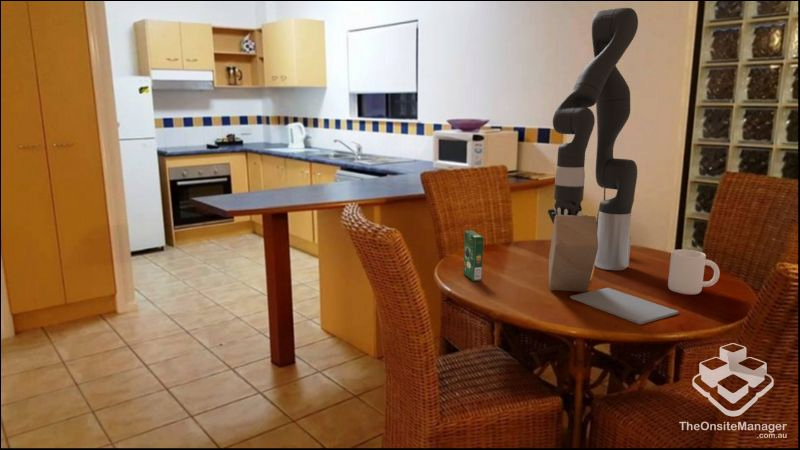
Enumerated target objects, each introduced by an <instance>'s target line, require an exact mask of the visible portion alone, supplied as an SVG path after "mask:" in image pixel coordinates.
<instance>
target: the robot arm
mask: <svg viewBox="0 0 800 450" xmlns="http://www.w3.org/2000/svg"><path fill="white" fill-rule="evenodd" d="M638 28H639V18H638V14H637V12H636V10H635V9H633V8H632V7H619V8H612V9H603V10H599V11H597V12H596V13H595V14H594V16H593V19H592V23H591V40H592V48H593V57H594V58H593V59H592V60H591V61H590V62H589V63H588V64H587V65H586V66H585V67H584V68H583V69H582V70H581V72H580V74H579V76H578V77H577V80H576V82H575V83H574V84H575V85H574V87H573V89H572V91H571V92H570V93H569V94H568V95H567V96H566V98H565V99H564V100H563V101H562V102H561V103H560V105H559V106H557V108H556V110H555V111H554V114H553V117H552V128H553V130H554V131H555V132H556V133H558V134H562V135H573V138H572V141H570V142H567V143H566V142H565V143H562V144H560V145H559V147H558V149H557V160H556V161H557V162H556V163H557V164H556V170H555V175H554V179H555V180H554V192H553V193H554V195H553V196H554V197H553V199H554V200H555V203H554V206H553V208H552V209H550V208H549V209H548V210H547V213H548V215H549V217H550V220H551V222H552V225H554V219H555V216H556V215H574V216H588V215H585V214H584V213H583V212H582V210H583V208H582V205H581V204H582V201H584V194H585V193H584V191H585V177H586V175H585V172H586V171H585V162H586V151H587V148H588V145H589V142H590V138H591V137H592V136H591V135H592V133H593V130H594V128H595V123H596V127H597V128H596V130H597V132H596V134H597V136H596V137H597V138H596V139H597V143H596V159H595V180H596V183H597V185H598V186H599V187H600V188H602V189H604V188H606V189H607V190H608V189H610V190H616V191H617V192H616V194H615V196H614V197H613V198H612V197H611V198H609V199H605V200H604V199H603V200H602V201H600V202H599V204H598V206H599V207H598V211H599V217H598V230H597V237H598V250H597V254H596V259H595V263H594V267H596V268H599V269H602V270H609V271H623V270H626V269H627V268H628V267H629V265H630V264H629V263H630V255H631V254H630V252H631V241H632V236H630V231H631V223H632V221H631V220H632V209H633V205H634V201H635V194H636V193H635V192H636V185H637V179H638V166H637V164H636V162H635V160H632V159H628V158H614V146H615V144H616V143H615V142H616V140H617V137H618V136H619V134H620V133H621V131H622V130H623V128H624V127H625V125H626V123H627V121H628V120H629V117H630V115H631V91H630V90H631V89H630V87H629V85H628V83H627V81H626V80H625V78H624V76H623V75H622V74H621V72H620V71H619V69H618V67H617V64H618V63H619V61H620V59H621V58H622V57H623V55H624V54H625V52H626V51H627V49H628V48H629V46H630V45H631V43H632V41H633V40H634V38H635V37H636V34H637V31H638ZM594 105H595V106H596V107H595V108H596V117H595V115H594V112H593V110H592V109H591V107H594ZM595 119H596V120H595Z"/></svg>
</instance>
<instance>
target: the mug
mask: <svg viewBox="0 0 800 450" xmlns="http://www.w3.org/2000/svg"><path fill="white" fill-rule="evenodd" d="M706 257H707V255H706V253H704V252H701V251H698V250H693V249H673V250H671V253H670V261H669V270H668V271H669V272H668V279H667V280H668V281H667V287H668V289H669V290H670V291H672V292H675V293H677V294H682V295H698V294H700V293H701V292H702V291H703V288H705V287H706V288H708V287H711V286H713V285H715V284H716V283H717V282H718V281H719V278H720V274H721V273H720V268H719V266H718V264H717V263H715V262H714V261H712V260H710V259H707V258H706ZM705 266H708V267H711V268H712V270H713V277H712V279H710V280H708V281H706V280H704V275H705V274H704V273H705Z"/></svg>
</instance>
